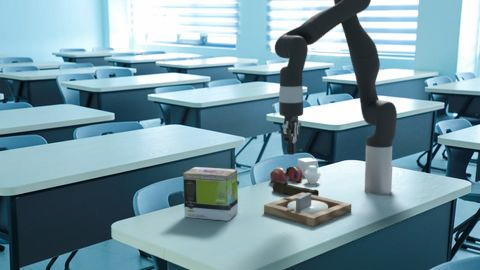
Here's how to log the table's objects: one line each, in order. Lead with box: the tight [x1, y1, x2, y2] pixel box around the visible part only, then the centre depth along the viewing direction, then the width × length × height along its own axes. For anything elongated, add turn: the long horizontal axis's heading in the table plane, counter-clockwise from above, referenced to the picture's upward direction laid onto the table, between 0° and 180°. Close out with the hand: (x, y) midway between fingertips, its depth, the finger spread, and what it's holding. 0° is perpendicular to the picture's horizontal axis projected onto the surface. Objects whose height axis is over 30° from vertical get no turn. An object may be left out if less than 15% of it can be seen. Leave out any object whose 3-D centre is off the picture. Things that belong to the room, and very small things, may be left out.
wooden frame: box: [263, 193, 352, 228], centre depth 199 cm, size 20×20×3 cm
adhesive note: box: [296, 157, 319, 177], centre depth 249 cm, size 6×6×6 cm
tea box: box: [182, 166, 239, 222], centre depth 196 cm, size 15×10×15 cm
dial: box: [288, 193, 328, 214], centre depth 198 cm, size 13×13×6 cm
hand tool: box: [272, 180, 320, 196], centre depth 219 cm, size 19×4×5 cm, turn 47°
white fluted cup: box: [304, 165, 322, 185], centre depth 235 cm, size 6×6×7 cm
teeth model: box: [269, 166, 303, 183], centre depth 237 cm, size 8×6×12 cm
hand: (291, 154), depth 196 cm, fingers closed
